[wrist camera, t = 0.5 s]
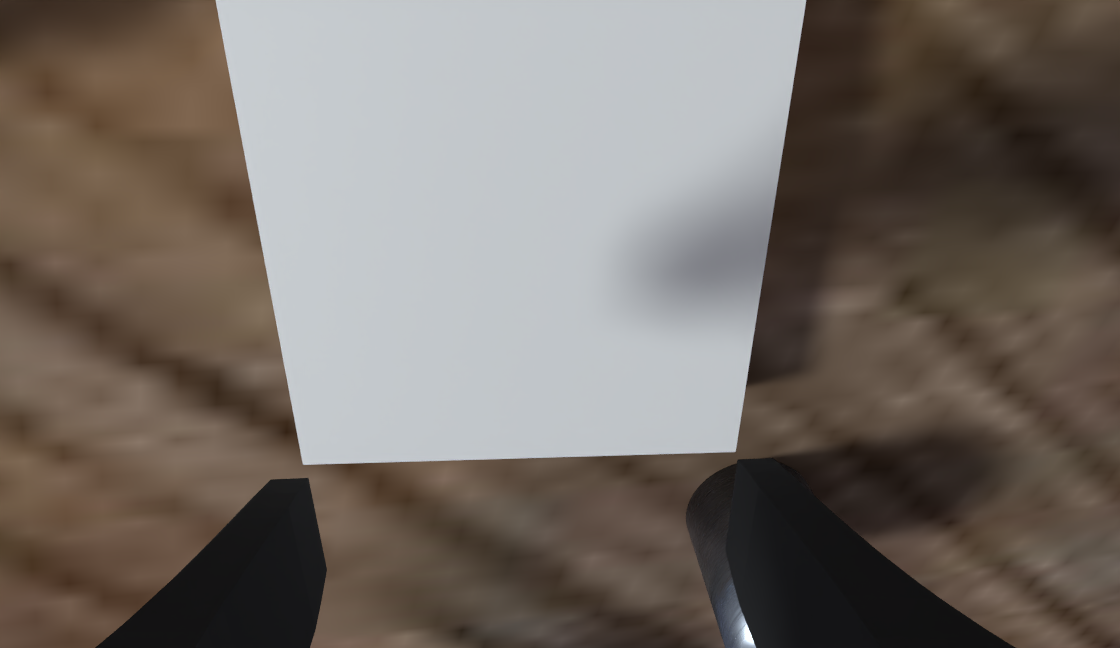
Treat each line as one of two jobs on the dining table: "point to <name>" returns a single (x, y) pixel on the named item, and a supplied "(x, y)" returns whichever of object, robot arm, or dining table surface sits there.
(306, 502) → the robot arm
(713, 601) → the grey cylinder
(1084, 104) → the dining table surface
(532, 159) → the base block
